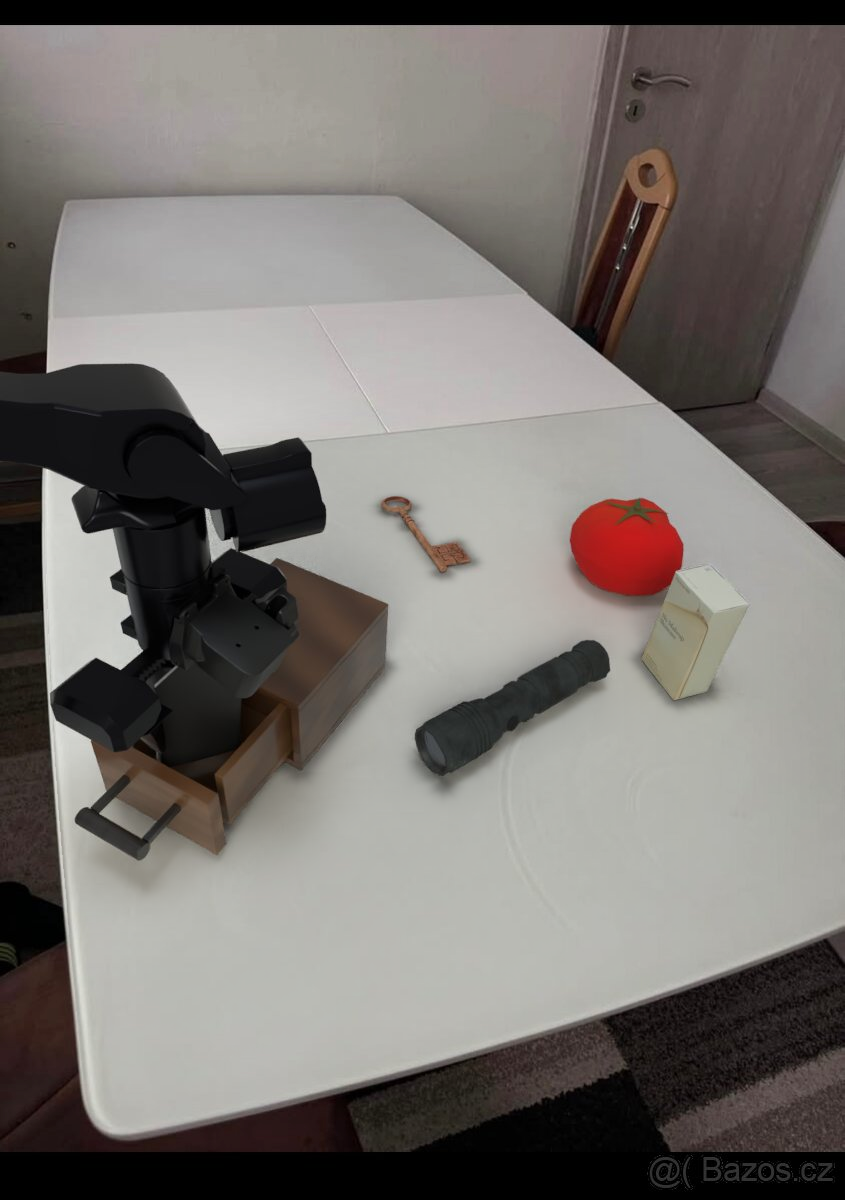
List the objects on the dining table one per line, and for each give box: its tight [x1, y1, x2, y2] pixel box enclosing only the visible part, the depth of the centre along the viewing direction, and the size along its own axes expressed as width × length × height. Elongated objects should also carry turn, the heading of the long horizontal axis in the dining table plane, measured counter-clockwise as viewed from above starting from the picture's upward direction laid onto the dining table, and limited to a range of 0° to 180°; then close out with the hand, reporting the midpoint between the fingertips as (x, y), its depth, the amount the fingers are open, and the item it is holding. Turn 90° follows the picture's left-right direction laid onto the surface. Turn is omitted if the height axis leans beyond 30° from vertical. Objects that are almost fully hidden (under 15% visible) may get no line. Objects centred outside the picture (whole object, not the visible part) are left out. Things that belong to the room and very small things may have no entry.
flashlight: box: [414, 639, 611, 777], centre depth 75 cm, size 5×21×5 cm, turn 127°
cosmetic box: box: [641, 562, 751, 701], centre depth 79 cm, size 6×4×12 cm
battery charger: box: [155, 660, 242, 767], centre depth 63 cm, size 7×4×11 cm, turn 115°
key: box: [380, 495, 472, 572], centre depth 98 cm, size 6×1×15 cm
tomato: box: [569, 497, 685, 597], centre depth 91 cm, size 11×13×10 cm
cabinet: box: [256, 557, 389, 771], centre depth 75 cm, size 15×13×9 cm
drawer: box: [74, 692, 293, 862], centre depth 66 cm, size 18×11×7 cm, turn 152°
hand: (193, 716), depth 64 cm, fingers closed on battery charger, 7 cm apart
